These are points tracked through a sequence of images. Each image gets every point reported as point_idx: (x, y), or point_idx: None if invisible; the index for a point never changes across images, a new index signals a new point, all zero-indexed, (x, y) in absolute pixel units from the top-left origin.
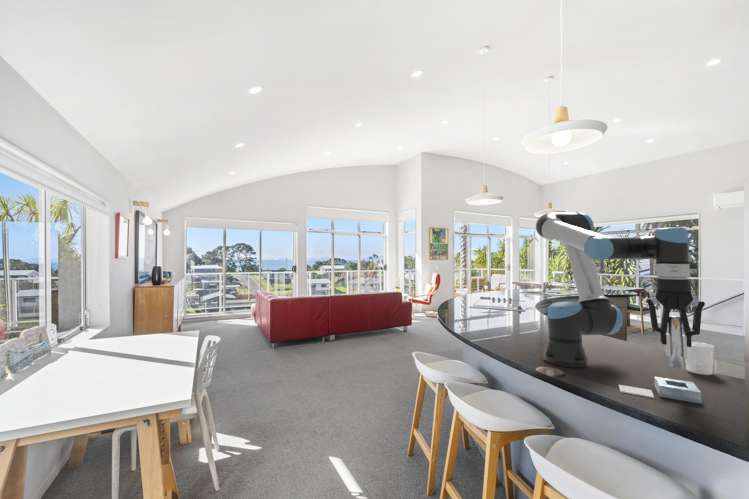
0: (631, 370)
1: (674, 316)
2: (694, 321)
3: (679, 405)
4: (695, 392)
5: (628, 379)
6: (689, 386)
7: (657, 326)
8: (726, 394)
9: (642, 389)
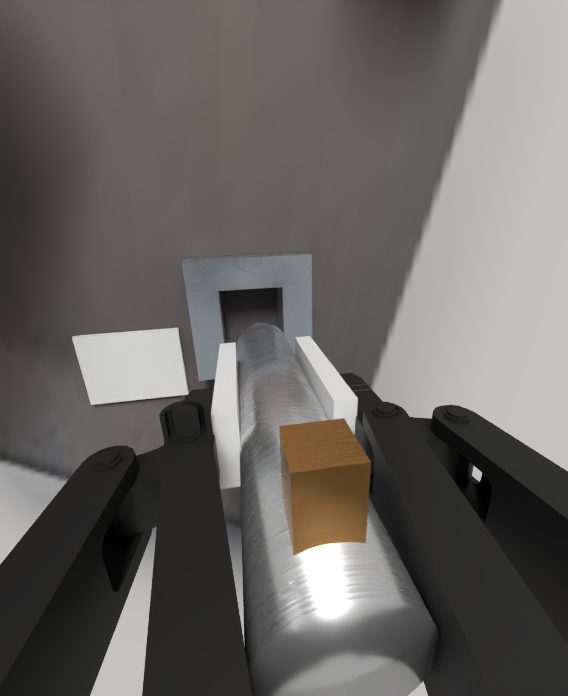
0: None
1: (348, 657)
2: (531, 578)
3: None
4: None
5: (88, 212)
6: (290, 323)
7: (131, 564)
8: (399, 195)
9: (152, 341)
